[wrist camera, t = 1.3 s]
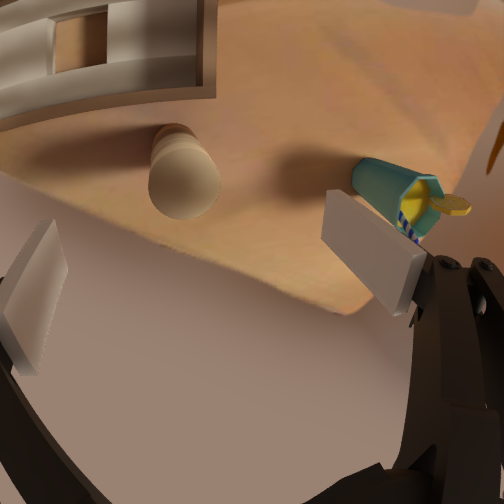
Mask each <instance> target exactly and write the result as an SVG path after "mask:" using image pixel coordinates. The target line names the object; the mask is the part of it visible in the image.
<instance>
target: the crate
mask: <svg viewBox="0 0 504 504" xmlns="http://www.w3.org/2000/svg"><path fill="white" fill-rule="evenodd" d="M217 10H218V0H0V132H3V131H6V130H10V129H13V128H17V127H21V126H24V125H28V124H32V123H36V122H40V121H44V120H48V119H53V118H57V117H62V116H67V115H72V114H77V113H82V112H88V111H94V110H100V109H106V108H112V107H119V106H127V105H135V104H143V103H153V102H164V101H176V100H191V99H212V98H216V54H217ZM103 12H108V24H107V64H101V65H95V66H90V67H84V68H79V69H75V70H70V71H65V72H61V73H57V74H55V37H56V22H60V21H64V20H69V19H73V18H77V17H82V16H87V15H92V14H97V13H103Z"/></svg>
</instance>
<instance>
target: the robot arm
mask: <svg viewBox="0 0 504 504" xmlns="http://www.w3.org/2000/svg"><path fill="white" fill-rule="evenodd" d="M321 239H322V240H323V241H324V242H325V243H326V244H327V245H328V247H329V248H330V249H331V250H332V251H333V252H334V253H335V254H336V255H337V256H338V257H339V258H340V259H341V260H342V261H343V262H344V263H345V264H346V265H347V266H348V268H349V269H350V270H351V271H352V272H353V273H354V274H355V275H356V276H357V277H358V278H359V279H360V280H361V281H362V283H363V284H364V285H365V286H366V287H367V288H368V289H369V290H370V291H371V292H372V293H373V294H374V296H375V297H376V298H377V299H378V300H379V301H380V302H381V303H382V304H383V305H384V307H385V308H386V309H387V310H388V311H389V312H390V313H391V314H392V316H397V315H400V314H403V313H406V312H408V309H409V306H410V303H411V301H412V300H413V301H414V302H415V303H416V304H417V307H416V310H415V312H414V315H413V317H412V320H411V322H410V325H409V327H412V325H413V324H414V338H413V353H412V366H411V377H410V387H409V396H408V404H407V411H406V418H405V424H404V431H403V436H402V442H401V448H400V452H399V455H398V457H397V459H396V461H395V463H394V465H393V467H392V469H386V470H384V469H383V467H382V466H381V464H380V463H377V464H374V465H372V466H370V467H368V468H366V469H363V470H361V471H359V472H356V473H354V474H352V475H349V476H347V477H344V478H342V479H340V480H339V481H338V482H336V483H335V484H333V485H332V486H330V487H329V488H327V489H326V490H324V491H323V492H321V493H320V494H318V495H317V496H315V497H313V498H312V499H310V500H309V501H307V502H305V503H303V504H504V491H503V499H502V498H500V482H501V464H502V466H503V469H504V276H503V275H502V273H501V272H500V270H499V269H498V268H497V266H496V265H495V264H494V263H492V262H491V261H490V260H488V259H486V258H481V257H476V258H474V259H473V261H472V264H471V267H470V268H462V266H461V265H460V263H459V262H457V261H456V260H454V259H453V258H450V257H448V256H443V255H438V256H435V257H434V256H432V255H431V254H430V253H428V252H427V251H426V250H425V249H423V248H422V247H421V246H420V245H418V244H416V242H414V241H413V240H412V239H410V238H409V237H408V236H406V235H405V234H404V233H402V232H400V231H398V230H397V229H395V228H394V227H393V226H391V225H390V224H389V223H387V222H386V221H384V220H383V219H382V218H380V217H379V216H378V215H376V214H375V213H373V212H372V211H370V210H369V209H368V208H366V207H365V206H363V205H362V204H360V203H359V202H358V201H356V200H355V199H353V198H352V197H350V196H349V195H347V194H346V193H344V192H343V191H341V190H340V189H338V190H327V192H326V201H325V210H324V218H323V226H322V234H321ZM67 273H68V267H67V263H66V260H65V257H64V253H63V249H62V246H61V242H60V238H59V234H58V231H57V227H56V222H55V219H49V220H43V221H40V223H39V224H38V226H37V227H36V228H35V230H34V231H33V233H32V234H31V236H30V237H29V239H28V240H27V242H26V243H25V245H24V246H23V248H22V249H21V251H20V252H19V254H18V256H17V257H16V259H15V261H14V262H13V264H12V265H11V267H10V269H9V270H8V272H7V274H6V275H5V277H2V278H0V462H1V463H2V465H3V467H4V469H5V470H6V472H7V474H8V476H9V477H10V479H11V481H12V482H13V484H14V485H15V487H16V488H17V490H18V492H19V493H20V495H21V496H22V498H23V499H24V501H25V502H26V504H112V503H111V502H110V501H109V500H108V499H107V498H106V497H105V496H104V495H103V494H102V493H101V492H100V491H99V490H98V489H97V488H96V487H95V486H94V485H93V484H92V483H91V482H90V480H89V479H88V478H87V477H86V476H85V475H84V474H83V473H82V472H81V470H80V469H79V468H78V467H77V466H76V465H75V464H74V462H73V461H72V460H71V459H70V458H69V456H68V455H67V454H66V453H65V451H64V450H63V449H62V448H61V447H60V445H59V444H58V443H57V441H56V440H55V439H54V437H53V436H52V435H51V433H50V432H49V431H48V430H47V428H46V426H45V425H44V424H43V422H42V421H41V419H40V418H39V417H38V415H37V414H36V412H35V411H34V410H33V408H32V406H31V405H30V403H29V402H28V400H27V398H26V397H25V395H24V394H23V392H22V390H21V389H20V387H19V386H18V384H17V382H16V381H15V379H14V377H13V376H12V375H11V369H12V366H13V365H14V366H15V368H16V369H17V371H18V373H19V374H20V375H22V376H23V375H25V376H27V375H38V373H39V368H40V363H41V359H42V355H43V351H44V347H45V343H46V340H47V336H48V332H49V329H50V325H51V322H52V318H53V315H54V312H55V308H56V305H57V302H58V299H59V296H60V293H61V290H62V287H63V284H64V281H65V278H66V275H67ZM485 301H486V311H485V313H484V314H483V313H482V311H481V310H482V308H483V305H484V303H485ZM486 405H487V408H486Z"/></svg>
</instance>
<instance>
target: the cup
mask: <svg viewBox="0 0 504 504" xmlns="http://www.w3.org/2000/svg"><path fill="white" fill-rule="evenodd" d="M352 186H353V188H354V189H355V190H356V191H357V192H358V194H359V195H360V196H361V197H363V198H364V199H365V200H366V201H367V202H368V203H369V204H370V205H372V206H373V207H374V208H375V209H376V210H377V211H378V212H379V213H380V214H382V215H383V216H384V217H385V218H386V219H387V220H388V221H389V222H390V223H391V224H392V225H394V227H395V228H396V229H397V230H398V231H400V232H402V233H404V234H405V235H406V236H408V237H409V238H410V239H412V240H413V241H414V242H416V244H418V242H419V240H418V238H419V237H424V236H425V235H426V234H427V233H428V232H429V230H430V229H431V228H432V227H433V226H434V225H435V223H436V222H437V221H438V220H439V219H440V215H441V212H442V213H445V214H448V215H466V214H467V213H468V212H469V211H470V210H471V204H469V203H468V202H467V201H466V200H465V199H464V198H461V197H457V196H454V195H451V194H445V193H444V191H443V189H442V187H441V185H440V183H439V181H438V179H437V177H436V176H434V175H431V174H421V173H418V172H415V171H413V170H410V169H407V168H404V167H401V166H398V165H395V164H392V163H389V162H385V161H382V160H379V159H363V160H362V161H361V162H360V163H359V164H358V165H357V166H356V167H355V168H354V169H353V175H352Z"/></svg>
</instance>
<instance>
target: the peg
mask: <svg viewBox="0 0 504 504" xmlns="http://www.w3.org/2000/svg"><path fill="white" fill-rule="evenodd" d="M220 189H221V178H220V173H219V171H218V169H217V167H216V165H215V164H214V162H213V161H212V159H211V158H210V156H209V155H208V154H207V152H206V151H205V149H204V148H203V146H202V145H201V144H200V142H199V141H198V139H197V138H196V136H195V135H194V134H193V132H192V131H191V130H190V129H189V128H188V127H187V126H185V125H182V124H178V123H172V124H168V125H165V126H164V127H162V128H161V129H160V130H159V131H158V132H157V133H156V134H155V136H154V139H153V143H152V152H151V161H150V172H149V184H148V190H149V195H150V198H151V201H152V203H153V204H154V206H155V207H156V208H157V209H158V210H159V211H160V212H161V213H163V214H164V215H166V216H168V217H170V218H174V219H180V220H186V219H192V218H196V217H198V216H200V215H202V214H204V213H205V212H207V211H208V210H209V209H210V208H211V207H212V206H213V205H214V203H215V202H216V200H217V198H218V196H219V193H220Z"/></svg>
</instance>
